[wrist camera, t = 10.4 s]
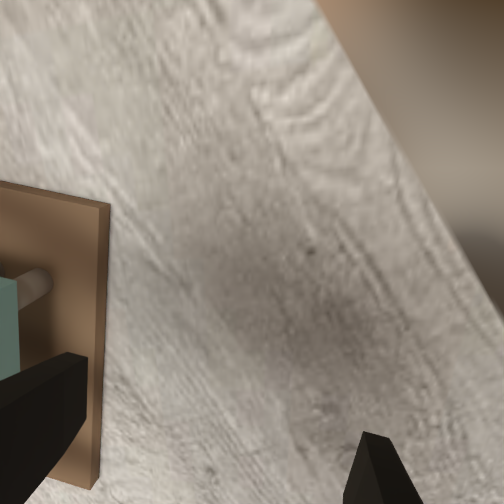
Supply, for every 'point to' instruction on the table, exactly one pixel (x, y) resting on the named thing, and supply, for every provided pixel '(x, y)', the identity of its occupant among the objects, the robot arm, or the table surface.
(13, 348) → the teal rectangular block
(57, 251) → the peg rack
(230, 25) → the table surface
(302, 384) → the table surface
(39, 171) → the table surface
